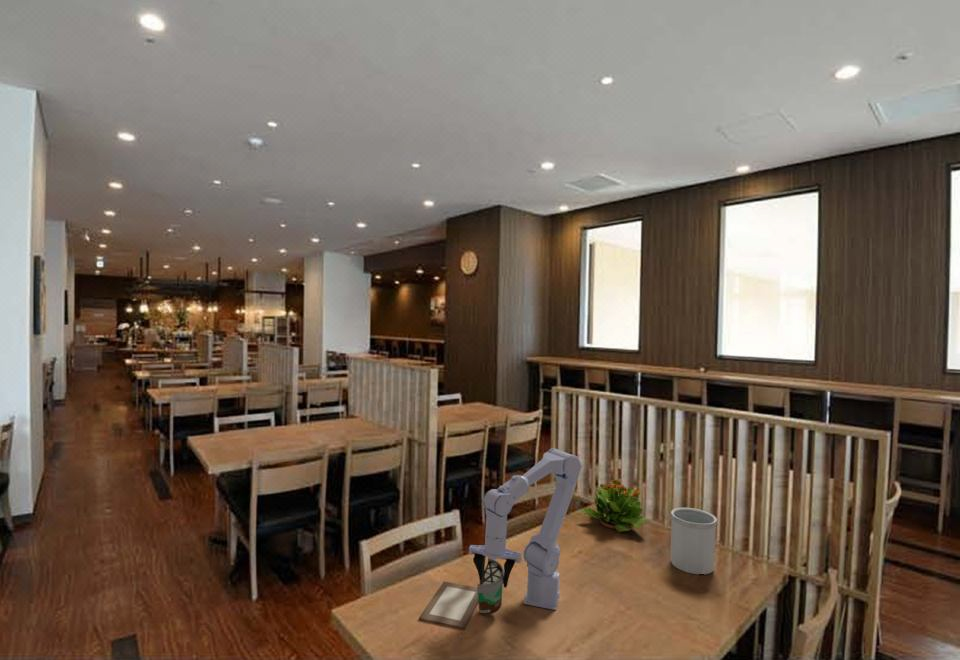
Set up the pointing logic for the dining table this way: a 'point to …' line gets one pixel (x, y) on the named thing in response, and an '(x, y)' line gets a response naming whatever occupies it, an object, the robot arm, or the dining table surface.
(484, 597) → the food container
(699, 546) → the utensil holder
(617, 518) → the potted flower
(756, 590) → the dining table surface
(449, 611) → the brown picture frame
